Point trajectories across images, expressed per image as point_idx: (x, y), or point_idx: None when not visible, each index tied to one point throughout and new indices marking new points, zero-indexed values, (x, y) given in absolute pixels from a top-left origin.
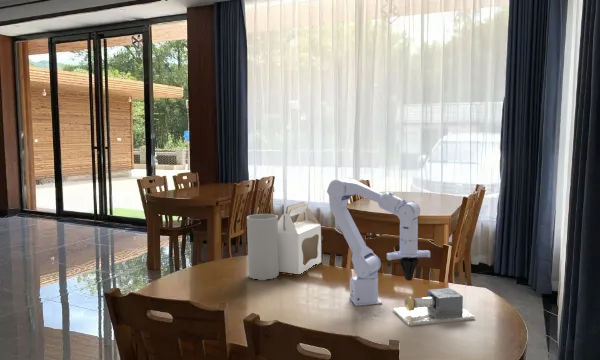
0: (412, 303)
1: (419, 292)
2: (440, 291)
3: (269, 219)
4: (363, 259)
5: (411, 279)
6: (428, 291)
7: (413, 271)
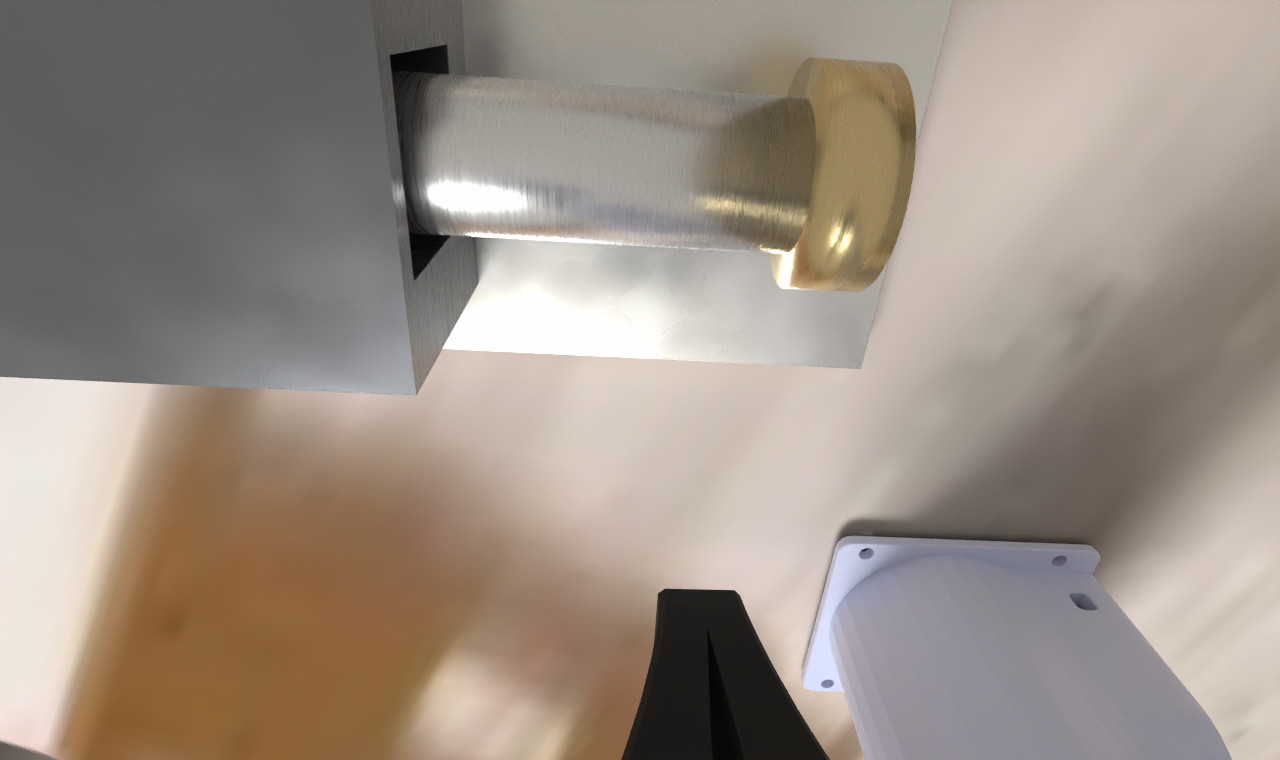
0: (865, 71)
1: (376, 661)
2: (206, 265)
3: None
4: None
5: (667, 598)
6: (416, 352)
7: (641, 744)
